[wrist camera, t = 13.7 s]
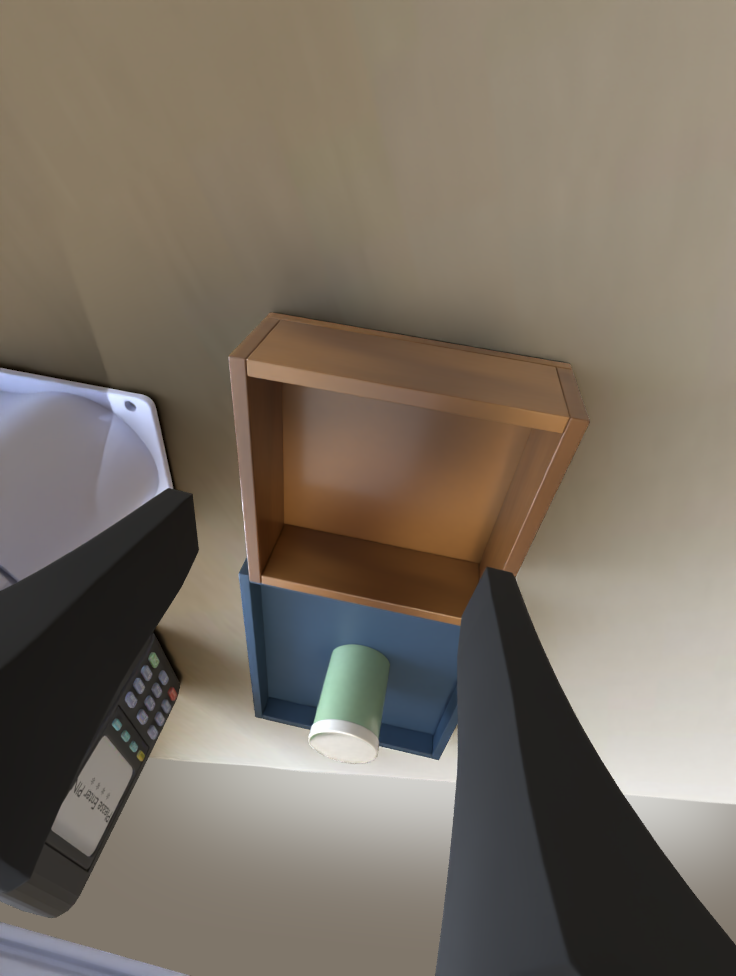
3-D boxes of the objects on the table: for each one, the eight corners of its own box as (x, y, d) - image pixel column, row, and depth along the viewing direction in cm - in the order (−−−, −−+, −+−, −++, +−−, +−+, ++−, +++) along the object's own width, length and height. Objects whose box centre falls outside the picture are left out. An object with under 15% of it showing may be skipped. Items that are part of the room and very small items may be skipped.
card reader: (191, 688, 40) (75, 926, 28) (147, 680, 40) (16, 910, 29) (159, 623, 34) (-2, 890, 22) (108, 615, 34) (-74, 871, 23)
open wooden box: (276, 522, 25) (248, 581, 22) (270, 311, 18) (227, 355, 15) (488, 565, 24) (489, 632, 21) (571, 363, 17) (591, 421, 14)
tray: (263, 692, 38) (254, 717, 36) (251, 546, 27) (238, 573, 25) (440, 733, 37) (438, 760, 35) (504, 598, 26) (505, 630, 24)
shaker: (328, 670, 33) (306, 754, 29) (331, 637, 30) (308, 724, 26) (386, 683, 33) (373, 770, 28) (395, 651, 30) (381, 741, 26)
